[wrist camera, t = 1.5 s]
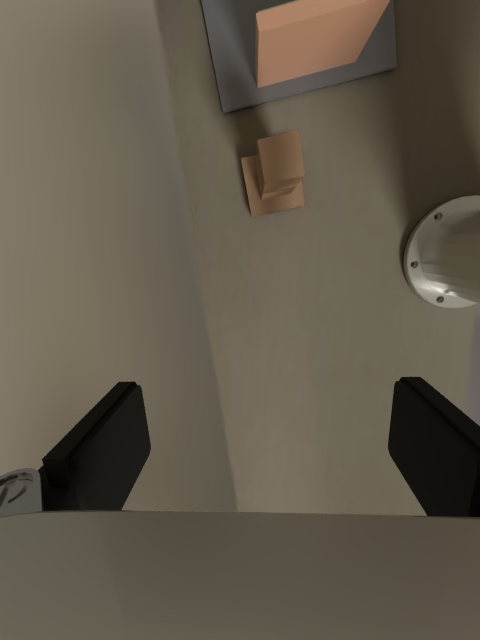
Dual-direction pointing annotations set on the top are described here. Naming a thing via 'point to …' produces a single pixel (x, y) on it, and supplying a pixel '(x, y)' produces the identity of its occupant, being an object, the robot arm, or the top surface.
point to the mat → (240, 46)
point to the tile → (311, 36)
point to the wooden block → (275, 174)
